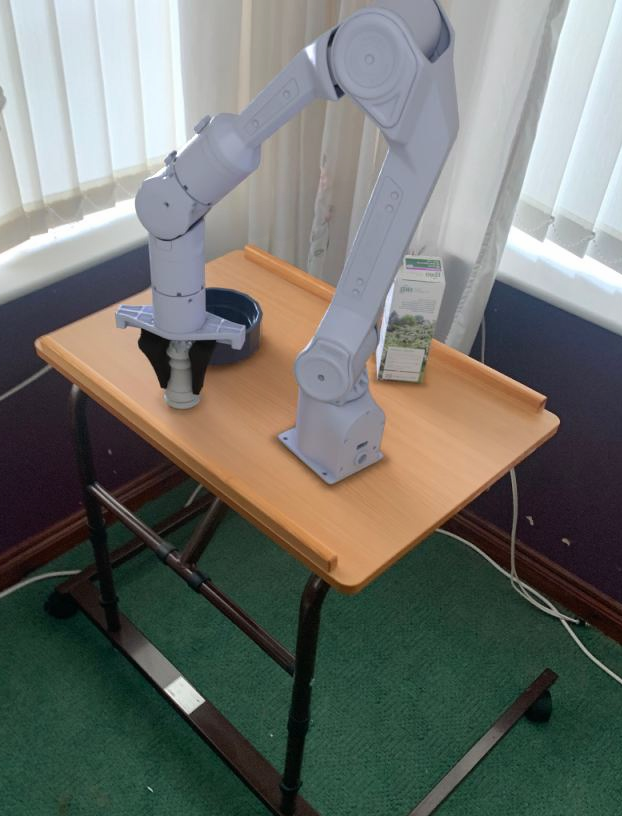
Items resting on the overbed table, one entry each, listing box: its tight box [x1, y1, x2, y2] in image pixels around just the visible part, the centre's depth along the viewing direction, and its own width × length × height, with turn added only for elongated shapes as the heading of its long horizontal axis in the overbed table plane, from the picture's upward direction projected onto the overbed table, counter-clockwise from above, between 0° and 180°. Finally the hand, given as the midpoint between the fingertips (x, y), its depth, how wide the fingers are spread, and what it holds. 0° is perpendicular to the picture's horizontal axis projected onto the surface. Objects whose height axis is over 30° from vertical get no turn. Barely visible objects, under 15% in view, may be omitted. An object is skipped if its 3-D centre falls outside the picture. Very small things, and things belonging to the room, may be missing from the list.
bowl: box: [175, 286, 264, 367], centre depth 102 cm, size 12×12×4 cm
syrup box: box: [375, 254, 447, 384], centre depth 95 cm, size 6×6×14 cm
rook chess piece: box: [163, 340, 202, 411], centre depth 92 cm, size 4×4×8 cm
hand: (182, 386), depth 94 cm, fingers closed on rook chess piece, 3 cm apart
